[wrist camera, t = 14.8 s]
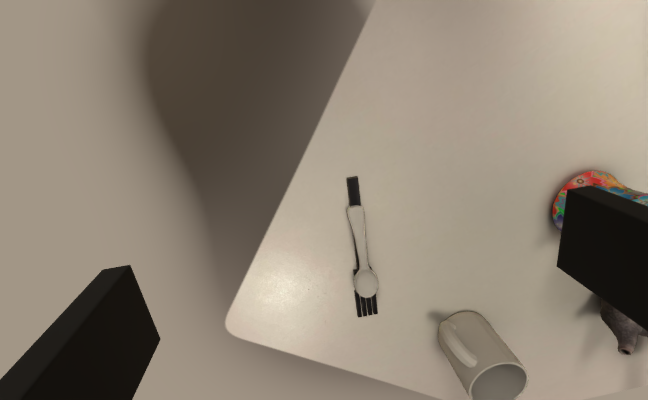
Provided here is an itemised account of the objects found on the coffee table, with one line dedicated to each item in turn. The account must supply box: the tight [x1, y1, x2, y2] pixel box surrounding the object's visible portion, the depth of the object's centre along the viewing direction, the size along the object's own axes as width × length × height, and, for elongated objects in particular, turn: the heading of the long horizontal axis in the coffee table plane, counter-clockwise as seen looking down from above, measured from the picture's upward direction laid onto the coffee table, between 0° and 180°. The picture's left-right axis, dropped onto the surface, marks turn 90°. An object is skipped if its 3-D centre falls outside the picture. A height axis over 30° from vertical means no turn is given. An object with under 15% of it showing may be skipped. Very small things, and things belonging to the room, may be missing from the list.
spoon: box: [347, 205, 378, 298], centre depth 40 cm, size 3×12×2 cm, turn 9°
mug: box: [552, 171, 648, 231], centre depth 37 cm, size 12×9×11 cm
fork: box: [346, 176, 378, 317], centre depth 41 cm, size 19×3×1 cm, turn 8°
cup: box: [438, 311, 529, 400], centre depth 43 cm, size 7×10×9 cm
